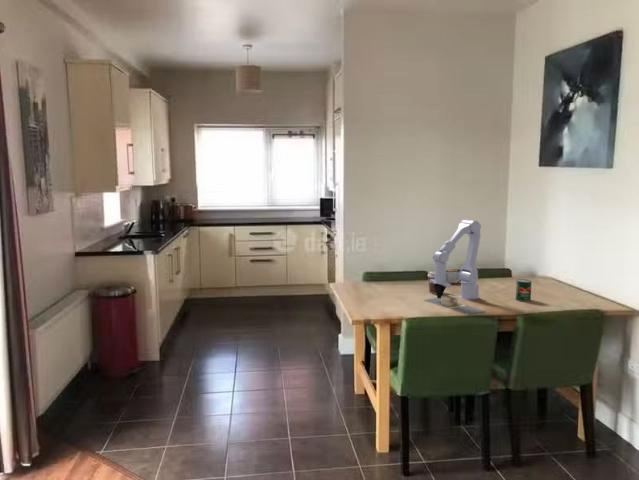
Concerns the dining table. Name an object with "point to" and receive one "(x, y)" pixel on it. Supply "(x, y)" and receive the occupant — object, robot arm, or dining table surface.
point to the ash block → (449, 300)
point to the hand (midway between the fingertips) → (439, 298)
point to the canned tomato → (523, 290)
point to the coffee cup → (431, 288)
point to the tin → (452, 276)
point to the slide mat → (457, 307)
